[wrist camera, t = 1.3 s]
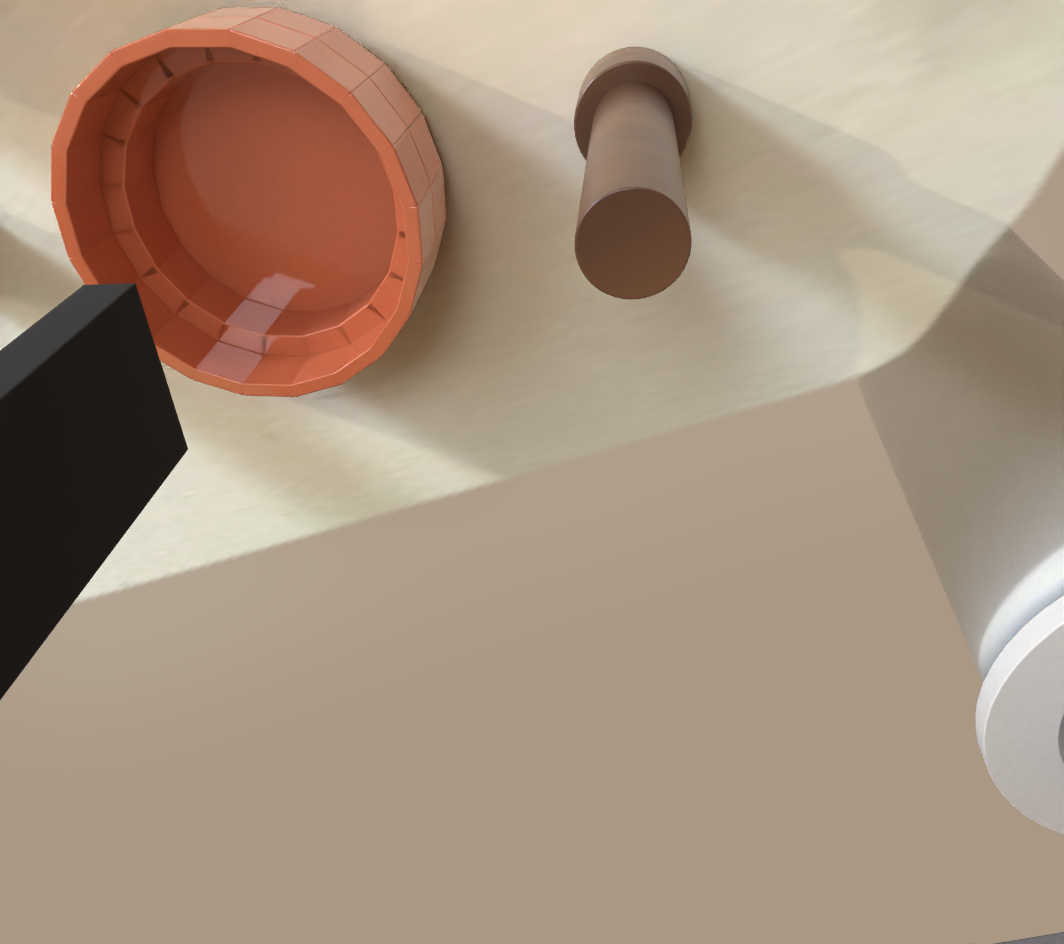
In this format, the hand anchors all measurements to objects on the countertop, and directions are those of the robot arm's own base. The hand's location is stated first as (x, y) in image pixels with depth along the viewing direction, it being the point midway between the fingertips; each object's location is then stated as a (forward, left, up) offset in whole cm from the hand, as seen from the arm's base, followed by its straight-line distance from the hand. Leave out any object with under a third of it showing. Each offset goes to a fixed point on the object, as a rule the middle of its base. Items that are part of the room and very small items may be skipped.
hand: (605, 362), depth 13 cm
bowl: (+4, +15, -28) cm, 32 cm away
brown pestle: (-2, +1, -28) cm, 28 cm away
